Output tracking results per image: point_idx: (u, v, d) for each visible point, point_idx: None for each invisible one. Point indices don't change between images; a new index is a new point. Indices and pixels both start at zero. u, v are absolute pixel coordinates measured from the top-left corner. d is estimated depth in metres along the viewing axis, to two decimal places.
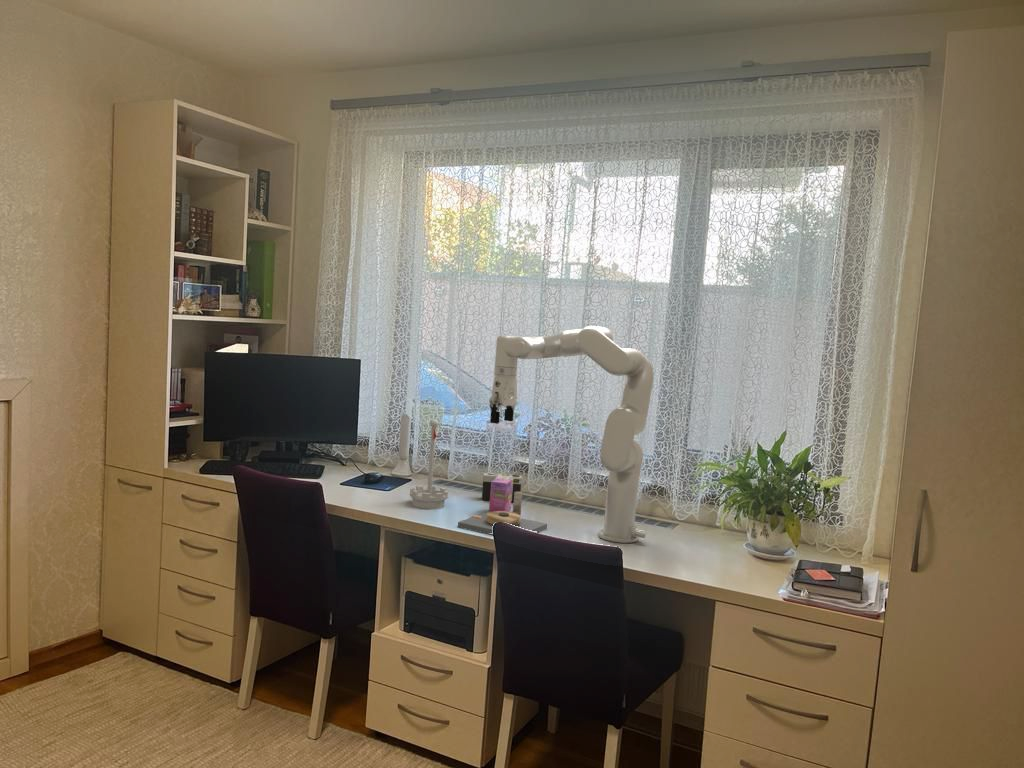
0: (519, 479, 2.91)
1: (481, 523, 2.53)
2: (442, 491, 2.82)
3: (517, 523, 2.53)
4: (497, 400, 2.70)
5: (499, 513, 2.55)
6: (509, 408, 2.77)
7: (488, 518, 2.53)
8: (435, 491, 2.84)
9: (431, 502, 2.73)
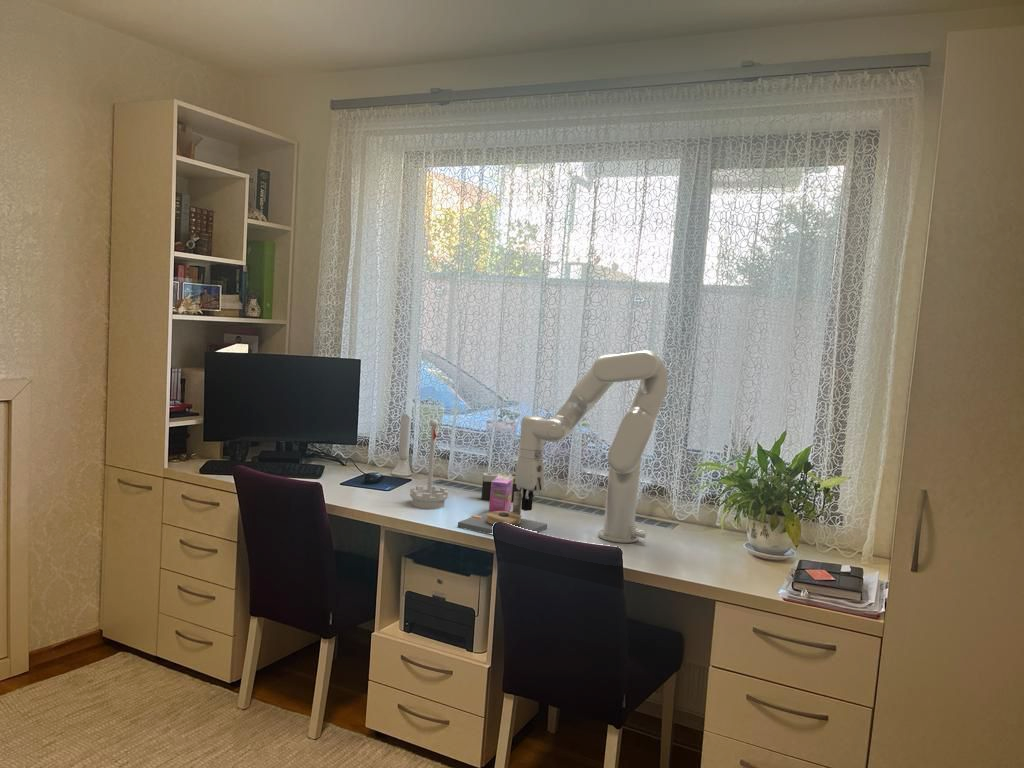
0: None
1: (481, 523, 2.53)
2: (442, 491, 2.82)
3: (517, 523, 2.53)
4: None
5: (499, 513, 2.55)
6: None
7: (488, 518, 2.53)
8: (435, 491, 2.84)
9: (431, 502, 2.73)
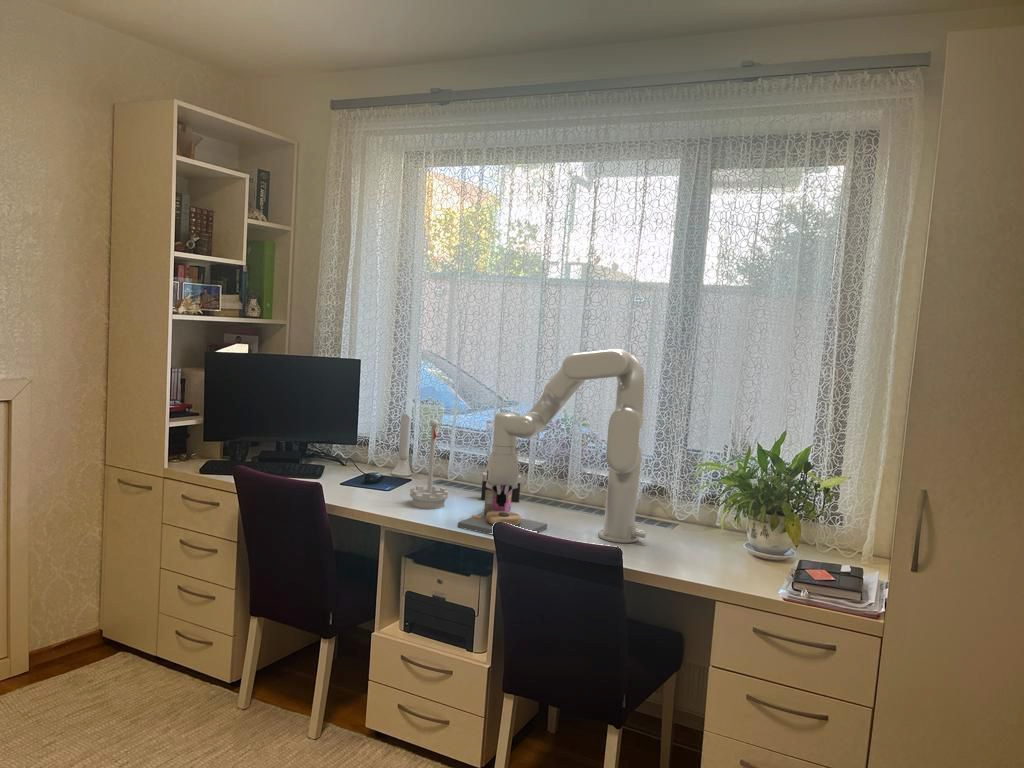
0: (518, 478, 2.92)
1: (481, 523, 2.53)
2: (442, 491, 2.82)
3: None
4: None
5: (502, 514, 2.54)
6: (500, 492, 2.64)
7: (504, 521, 2.50)
8: (435, 491, 2.84)
9: (431, 502, 2.73)
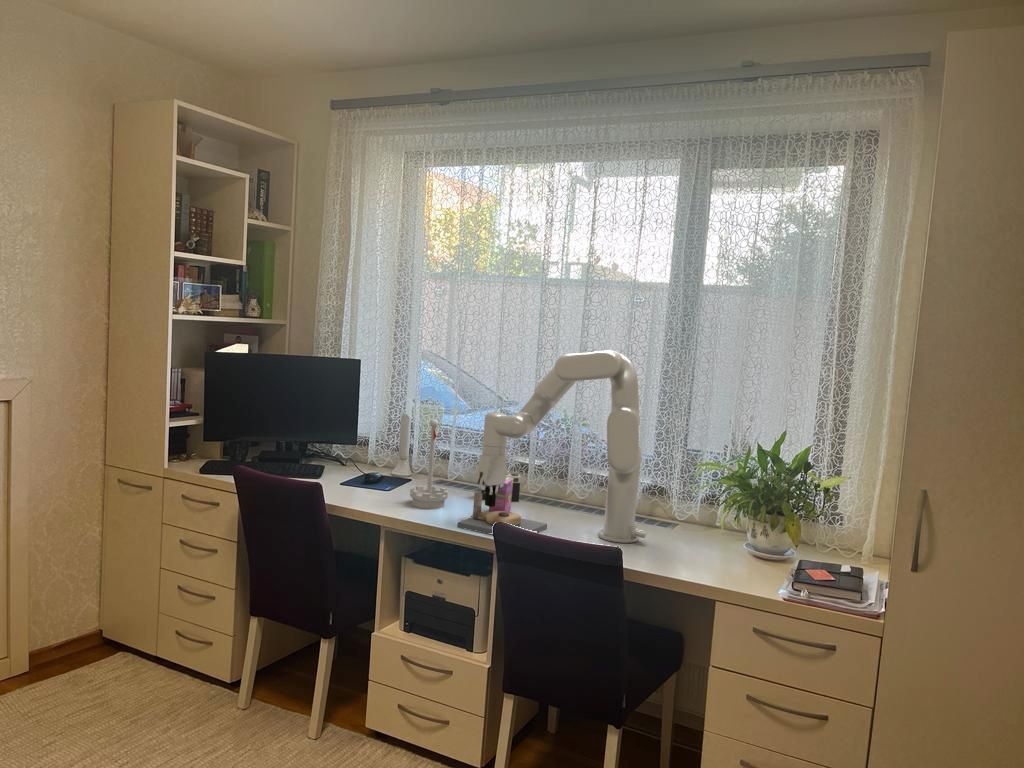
0: (518, 478, 2.93)
1: (481, 523, 2.53)
2: (442, 491, 2.82)
3: None
4: None
5: (505, 514, 2.54)
6: None
7: (514, 521, 2.52)
8: (435, 491, 2.84)
9: (431, 502, 2.73)
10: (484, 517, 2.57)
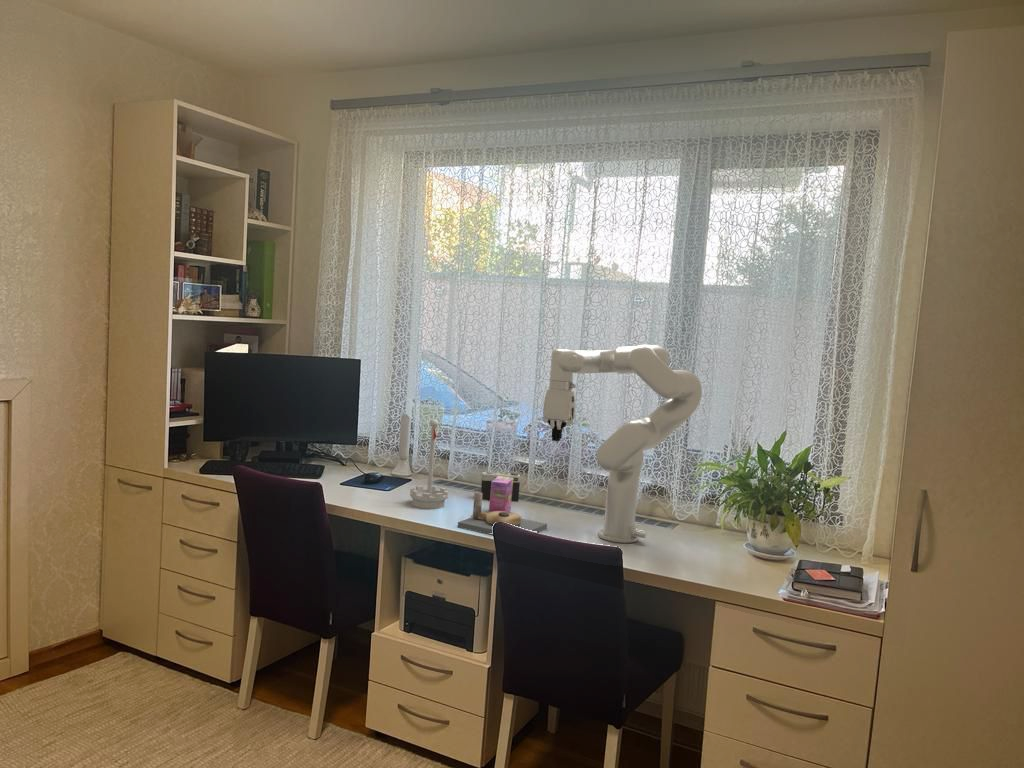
0: (518, 477, 2.93)
1: (481, 523, 2.53)
2: (442, 491, 2.82)
3: None
4: None
5: (505, 514, 2.54)
6: (556, 427, 2.68)
7: (514, 521, 2.52)
8: (435, 491, 2.84)
9: (431, 502, 2.73)
10: (484, 517, 2.57)
